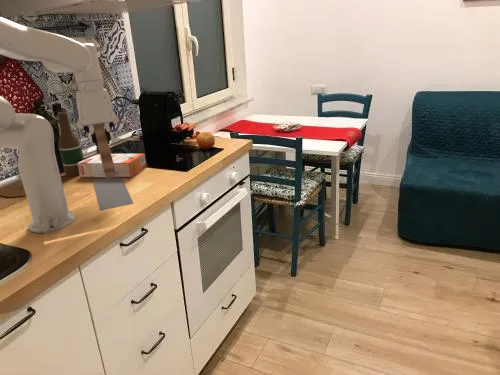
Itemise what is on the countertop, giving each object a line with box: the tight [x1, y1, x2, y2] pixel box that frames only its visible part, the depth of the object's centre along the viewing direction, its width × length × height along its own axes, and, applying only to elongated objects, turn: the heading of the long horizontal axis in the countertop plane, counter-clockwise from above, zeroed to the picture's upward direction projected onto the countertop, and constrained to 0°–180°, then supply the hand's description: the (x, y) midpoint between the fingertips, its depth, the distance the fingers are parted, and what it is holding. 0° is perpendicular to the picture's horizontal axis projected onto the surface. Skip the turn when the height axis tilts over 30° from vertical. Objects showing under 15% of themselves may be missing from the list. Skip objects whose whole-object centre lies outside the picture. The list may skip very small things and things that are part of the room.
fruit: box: [195, 131, 216, 150], centre depth 182 cm, size 8×8×8 cm
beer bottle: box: [56, 111, 85, 177], centre depth 156 cm, size 8×8×24 cm
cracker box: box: [78, 153, 147, 178], centre depth 157 cm, size 14×6×21 cm
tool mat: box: [92, 177, 135, 212], centre depth 139 cm, size 30×10×1 cm, turn 24°
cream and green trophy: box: [87, 126, 114, 154], centre depth 175 cm, size 11×7×13 cm, turn 81°
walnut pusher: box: [86, 123, 116, 178], centre depth 132 cm, size 25×7×5 cm
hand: (102, 143), depth 133 cm, fingers closed on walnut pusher, 3 cm apart
